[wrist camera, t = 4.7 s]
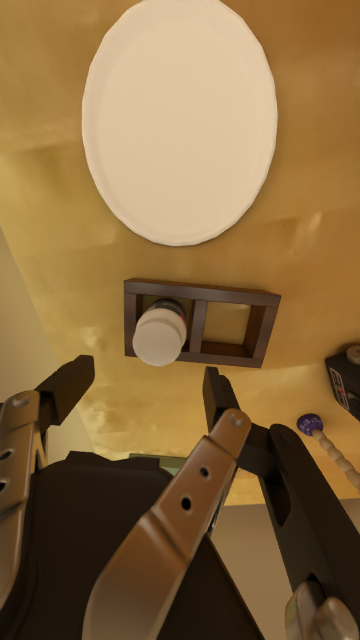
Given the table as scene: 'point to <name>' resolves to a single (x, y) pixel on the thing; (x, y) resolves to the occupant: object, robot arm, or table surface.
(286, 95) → the table surface
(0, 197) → the table surface
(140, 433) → the table surface
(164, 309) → the pill bottle
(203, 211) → the plate
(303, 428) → the toy lamp
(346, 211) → the table surface
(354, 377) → the camera
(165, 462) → the tray
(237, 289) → the rack
